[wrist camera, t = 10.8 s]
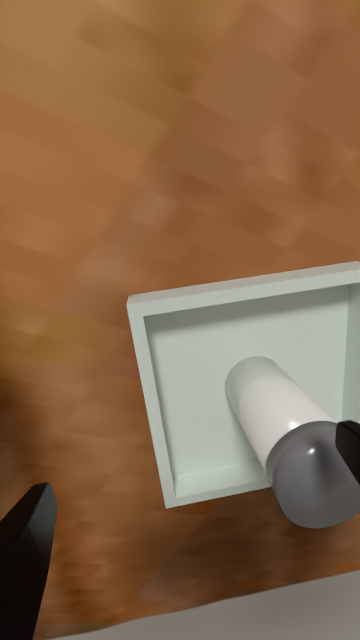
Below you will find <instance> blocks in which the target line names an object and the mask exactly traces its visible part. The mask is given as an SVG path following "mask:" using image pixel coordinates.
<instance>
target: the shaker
mask: <svg viewBox="0 0 360 640" xmlns="http://www.w3.org/2000/svg"><path fill="white" fill-rule="evenodd" d="M225 394H226V396H227V398H228V400H229V402H230V404H231V406H232V408H233V410H234V412H235V414H236V416H237V418H238V420H239V422H240V424H241V426H242V428H243V429H244V431H245V433H246V435H247V437H248V439H249V441H250V443H251V445H252V447H253V449H254V451H255V453H256V455H257V457H258V459H259V461H260V462H261V464H262V466H263V468H264V470H265V472H266V477H267V480H268V482H269V484H270V486H271V488H272V490H273V492H274V494H275V496H276V498H277V500H278V502H279V504H280V506H281V508H282V510H283V512H284V514H285V515H286V517H287V518H288V519H289V520H290V521H292V522H293V523H295V524H297V525H299V526H302V527H306V528H325V527H330V526H334V525H337V524H340V523H342V522H344V521H346V520H348V519H350V518H351V517H353V516H355V515H356V514H357V513H359V512H360V486H359V484H358V482H357V481H356V479H355V478H354V476H353V474H352V473H351V471H350V470H349V468H348V466H347V465H346V463H345V462H344V460H343V458H342V457H341V455H340V454H339V452H338V450H337V448H336V445H335V435H336V424H337V422H336V421H335V420H334V419H333V418H332V417H331V416H330V415H329V414H328V413H327V412H326V411H325V410H324V409H323V408H322V407H321V406H320V405H319V404H318V403H317V402H316V401H315V400H314V399H313V398H311V397H310V396H309V395H308V394H307V393H306V392H305V391H304V390H303V389H302V388H301V387H300V386H299V385H298V384H297V383H296V382H295V381H294V380H293V379H292V378H291V377H290V376H289V375H288V374H287V373H286V372H285V371H284V370H283V369H282V368H281V367H280V366H279V365H278V364H276V363H275V362H274V361H273V360H271V359H269V358H267V357H263V356H253V357H248V358H246V359H243V360H241V361H240V362H238V363H237V364H236V365H234V367H233V368H232V369H231V370H230V371H229V373H228V375H227V377H226V380H225Z"/></svg>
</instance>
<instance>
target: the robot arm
mask: <svg viewBox="0 0 360 640" xmlns="http://www.w3.org/2000/svg"><path fill="white" fill-rule="evenodd" d="M335 445H336V448H337V450H338V452H339V454H340V455H341V457H342V458H343V460H344V462H345V463H346V465H347V466H348V468H349V470H350V471H351V473H352V474H353V476H354V478H355V479H356V481H357V482H358V484H359V486H360V424H359V423H357V422H354V421H352V420H345V421H340V422H338V423H337V424H336V435H335ZM56 515H57V502H56V499H55V496H54V493H53V490H52V487H51V485H50V483H49V482H44V483H39V484H35V485H33V486H32V487H31V488H30V489H29V490H28V491H27V492H26V494H25V495H24V496H23V497H22V498H21V499H20V500H19V501H18V502H17V504H16V505H15V506H14V507H13V508H12V509H11V510H10V511H9V512H8V513H7V515H6V516H5V517H4V518H3V519H2V520H1V521H0V640H32V639H33V635H34V631H35V626H36V622H37V618H38V614H39V610H40V605H41V601H42V597H43V593H44V589H45V584H46V580H47V575H48V570H49V564H50V557H51V550H52V543H53V536H54V529H55V522H56Z"/></svg>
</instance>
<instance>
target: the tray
mask: <svg viewBox="0 0 360 640" xmlns="http://www.w3.org/2000/svg"><path fill="white" fill-rule="evenodd" d="M127 310H128V316H129V321H130V326H131V331H132V336H133V341H134V347H135V352H136V357H137V362H138V367H139V372H140V378H141V383H142V388H143V393H144V398H145V403H146V408H147V414H148V419H149V424H150V429H151V434H152V439H153V445H154V450H155V455H156V460H157V465H158V470H159V476H160V481H161V486H162V491H163V496H164V501H165V506H166V508H171V507H176V506H181V505H186V504H191V503H195V502H200V501H205V500H210V499H215V498H220V497H224V496H229V495H234V494H239V493H244V492H249V491H253V490H258V489H263V488H268V487H271V486H270V484H269V482H268V480H267V477H266V472H265V470H264V468H263V466H262V464H261V462H260V461H259V459H258V457H257V455H256V453H255V451H254V449H253V447H252V445H251V443H250V441H249V439H248V437H247V435H246V433H245V431H244V429H243V428H242V426H241V424H240V422H239V420H238V418H237V416H236V414H235V412H234V410H233V408H232V406H231V404H230V402H229V400H228V398H227V396H226V394H225V380H226V377H227V375H228V373H229V371H230V370H231V369H232V368H233V367H234V365H236V364H237V363H238V362H240V361H241V360H243V359H246V358H248V357H253V356H263V357H267V358H269V359H271V360H273V361H274V362H275V363H276V364H278V365H279V366H280V367H281V368H282V369H283V370H284V371H285V372H286V373H287V374H288V375H289V376H290V377H291V378H292V379H293V380H294V381H295V382H296V383H297V384H298V385H299V386H300V387H301V388H302V389H303V390H304V391H305V392H306V393H307V394H308V395H309V396H310V397H311V398H313V399H314V400H315V401H316V402H317V403H318V404H319V405H320V406H321V407H322V408H323V409H324V410H325V411H326V412H327V413H328V414H329V415H330V416H331V417H332V418H333V419H334V420H335V421H336V422H337V423H338V422H340V421H345V420H352V421H354V422H357V423H359V424H360V262H358V261H353V262H347V263H340V264H334V265H327V266H320V267H314V268H307V269H301V270H294V271H287V272H281V273H274V274H267V275H261V276H254V277H248V278H241V279H234V280H228V281H221V282H215V283H208V284H201V285H195V286H188V287H182V288H175V289H168V290H162V291H155V292H148V293H142V294H135V295H129V297H128V301H127Z"/></svg>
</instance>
